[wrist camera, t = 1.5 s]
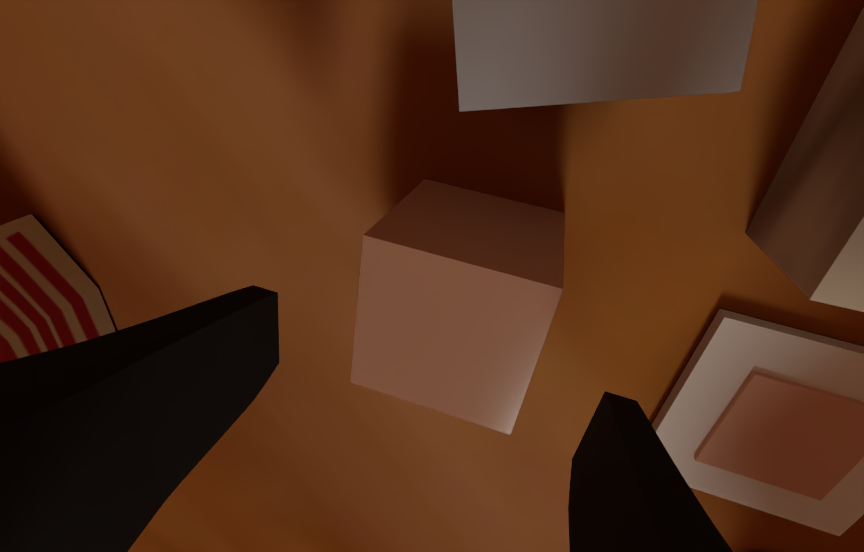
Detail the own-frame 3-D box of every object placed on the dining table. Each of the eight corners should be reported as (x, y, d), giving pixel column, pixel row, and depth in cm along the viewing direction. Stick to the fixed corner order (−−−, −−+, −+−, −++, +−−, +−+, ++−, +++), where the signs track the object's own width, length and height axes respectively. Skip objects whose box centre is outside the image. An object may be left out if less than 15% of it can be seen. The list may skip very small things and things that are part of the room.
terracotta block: (526, 329, 16) (510, 434, 11) (407, 294, 16) (350, 381, 12) (565, 212, 13) (562, 289, 9) (425, 178, 14) (363, 235, 10)
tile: (832, 523, 16) (842, 542, 15) (631, 458, 17) (634, 473, 16) (984, 378, 12) (1005, 395, 12) (719, 308, 13) (726, 320, 13)
